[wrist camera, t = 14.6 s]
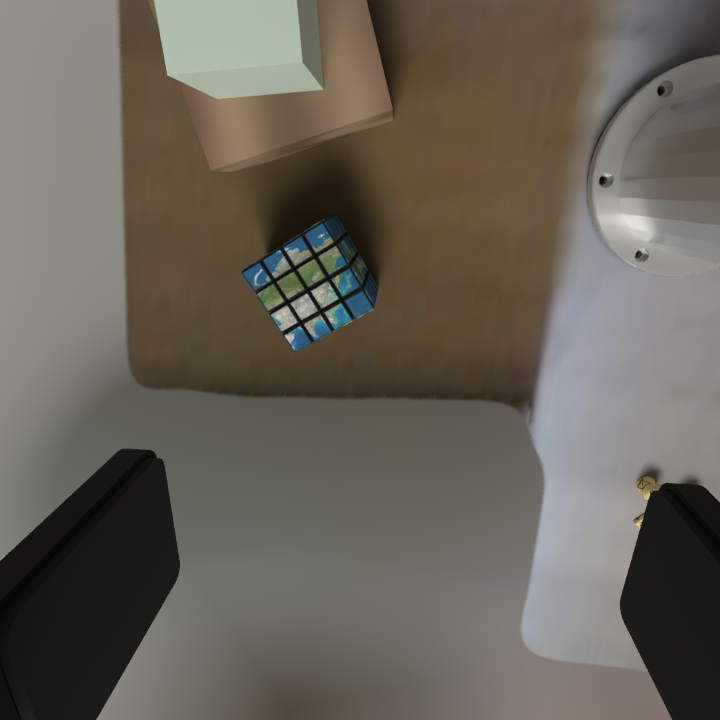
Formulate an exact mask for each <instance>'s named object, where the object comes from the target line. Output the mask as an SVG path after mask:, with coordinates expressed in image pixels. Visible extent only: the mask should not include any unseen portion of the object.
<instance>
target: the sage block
mask: <svg viewBox="0 0 720 720" xmlns="http://www.w3.org/2000/svg"><path fill="white" fill-rule="evenodd" d="M154 2H155V8H156V14H157V19H158V25H159V30H160V36H161V41H162V47H163V53H164V58H165V64H166V69H167V75H168V76H170V77H172V78H174V79H176V80H179V81H181V82H183V83H185V84H187V85H189V86H191V87H193V88H195V89H197V90H199V91H201V92H204V93H206V94H208V95H210V96H212V97H214V98H216V99H224V98H235V97H247V96H258V95H269V94H280V93H292V92H303V91H314V90H324V88H323V75H322V63H321V50H320V38H319V25H318V13H317V0H154Z"/></svg>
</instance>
